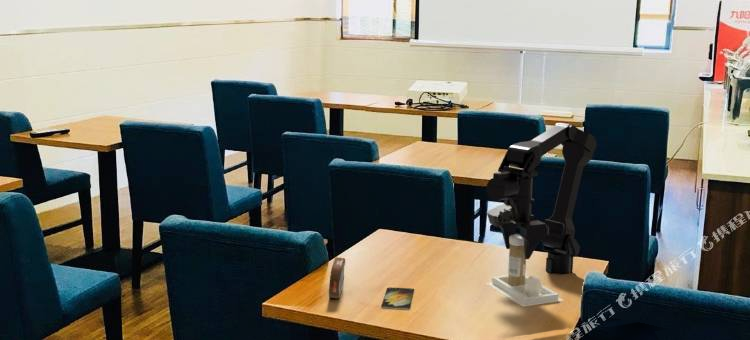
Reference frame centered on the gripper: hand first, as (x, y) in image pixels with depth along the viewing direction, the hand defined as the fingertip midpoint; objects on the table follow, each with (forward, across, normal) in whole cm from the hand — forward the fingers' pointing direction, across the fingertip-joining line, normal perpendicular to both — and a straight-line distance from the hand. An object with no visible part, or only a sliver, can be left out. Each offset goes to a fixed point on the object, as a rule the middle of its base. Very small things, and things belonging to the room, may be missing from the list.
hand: (517, 253), depth 218 cm
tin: (+10, -14, -44) cm, 47 cm away
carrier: (+10, +4, 0) cm, 11 cm away
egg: (+9, +8, 0) cm, 12 cm away
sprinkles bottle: (+9, 0, 0) cm, 9 cm away
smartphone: (+10, -5, -31) cm, 33 cm away
